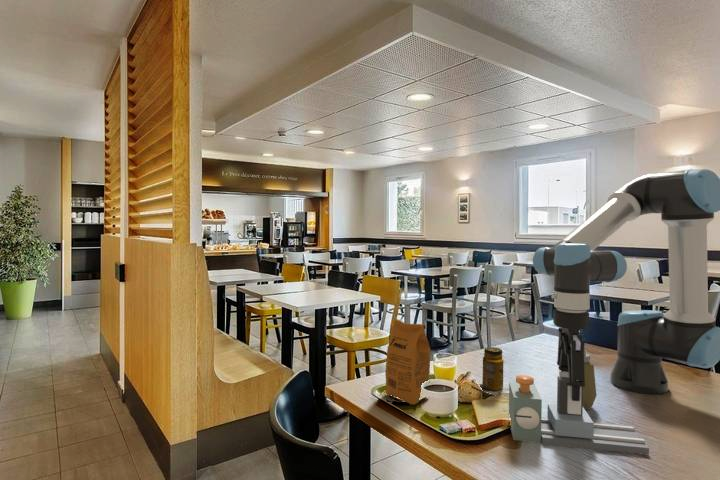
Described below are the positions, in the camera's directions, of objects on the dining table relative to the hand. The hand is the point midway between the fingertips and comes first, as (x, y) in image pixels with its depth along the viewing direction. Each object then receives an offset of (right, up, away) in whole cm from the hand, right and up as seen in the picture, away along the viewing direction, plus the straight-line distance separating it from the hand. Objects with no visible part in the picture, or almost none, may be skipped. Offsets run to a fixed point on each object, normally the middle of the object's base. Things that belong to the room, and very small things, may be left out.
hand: (569, 405), depth 103 cm
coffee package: (-36, -7, +24) cm, 43 cm away
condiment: (-10, -6, +30) cm, 32 cm away
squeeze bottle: (+11, -7, +17) cm, 22 cm away
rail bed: (+4, -7, -1) cm, 8 cm away
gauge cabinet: (-10, -7, +3) cm, 12 cm away
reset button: (-10, +3, +2) cm, 10 cm away
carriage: (0, -5, 0) cm, 5 cm away
